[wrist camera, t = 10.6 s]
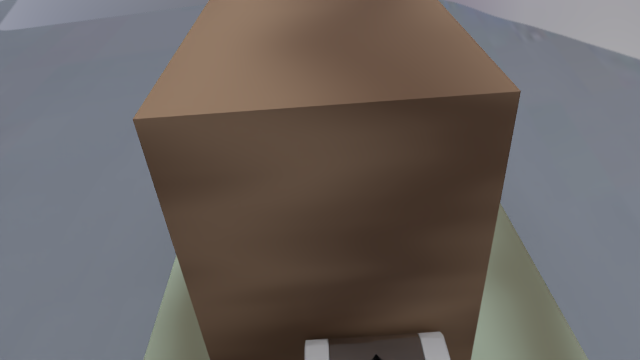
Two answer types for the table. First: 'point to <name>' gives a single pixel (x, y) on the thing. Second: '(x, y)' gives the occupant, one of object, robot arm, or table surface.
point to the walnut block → (329, 171)
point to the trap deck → (492, 328)
